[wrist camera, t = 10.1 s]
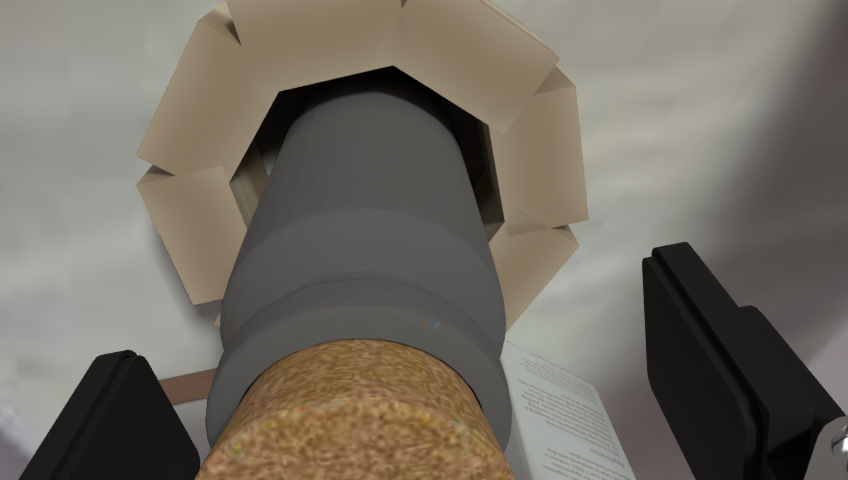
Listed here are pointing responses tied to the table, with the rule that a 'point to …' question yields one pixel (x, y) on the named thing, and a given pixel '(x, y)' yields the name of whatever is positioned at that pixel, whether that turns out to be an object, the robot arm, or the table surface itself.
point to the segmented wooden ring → (346, 55)
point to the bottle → (363, 305)
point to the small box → (558, 424)
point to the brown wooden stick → (188, 386)
